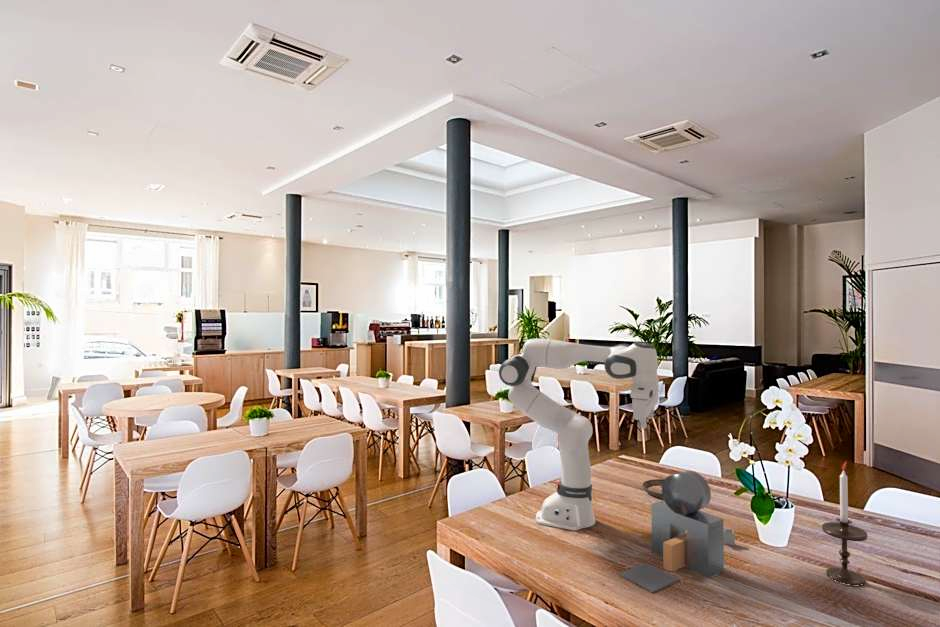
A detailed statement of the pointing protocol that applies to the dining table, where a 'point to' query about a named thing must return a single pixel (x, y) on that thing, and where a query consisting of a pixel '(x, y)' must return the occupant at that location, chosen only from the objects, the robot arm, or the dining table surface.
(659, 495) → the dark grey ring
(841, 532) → the candlestick
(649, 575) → the mat
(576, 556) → the dining table surface
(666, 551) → the plug
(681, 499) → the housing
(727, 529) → the lighter
